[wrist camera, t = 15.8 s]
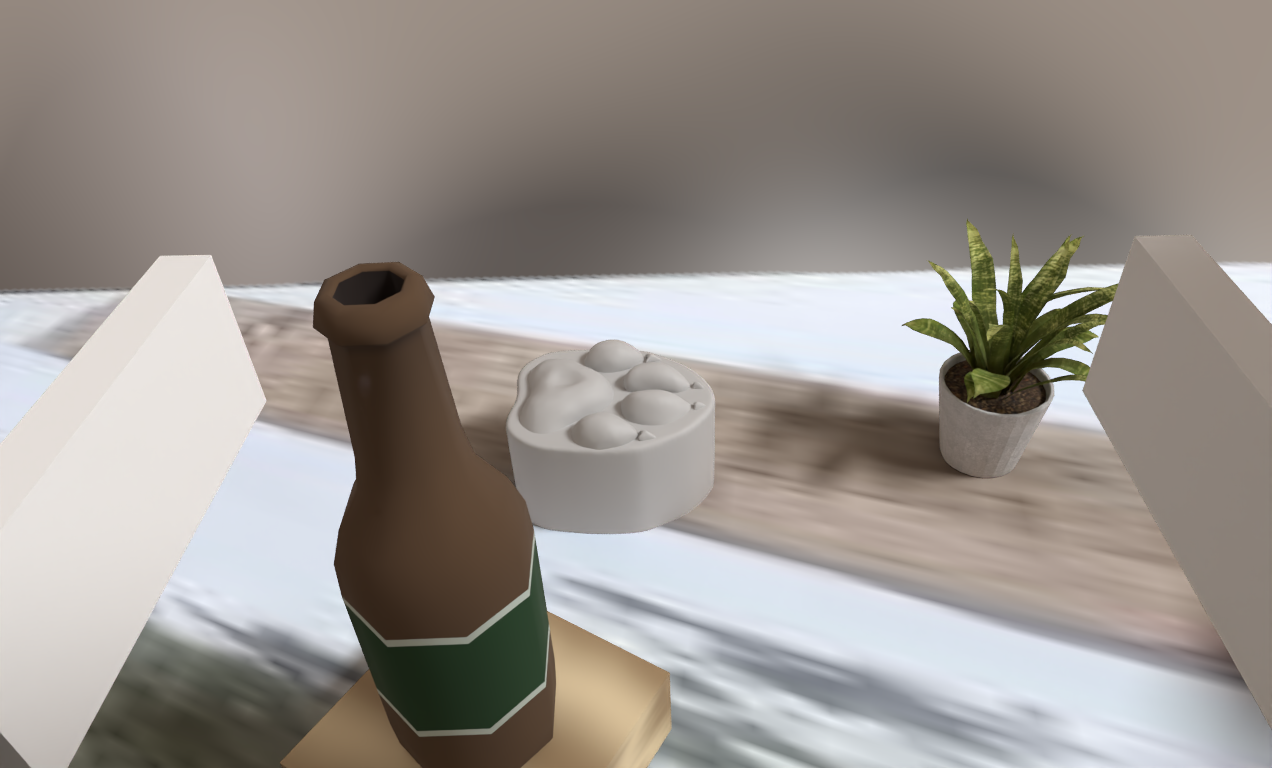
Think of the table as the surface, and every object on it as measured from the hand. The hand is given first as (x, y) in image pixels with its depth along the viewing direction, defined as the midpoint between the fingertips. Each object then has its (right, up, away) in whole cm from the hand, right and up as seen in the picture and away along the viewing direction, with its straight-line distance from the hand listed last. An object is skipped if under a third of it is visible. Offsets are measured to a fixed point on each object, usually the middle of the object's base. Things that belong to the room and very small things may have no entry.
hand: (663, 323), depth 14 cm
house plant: (+23, -7, +48) cm, 54 cm away
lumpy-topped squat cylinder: (-2, -7, +49) cm, 50 cm away
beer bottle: (-8, -17, +30) cm, 35 cm away
